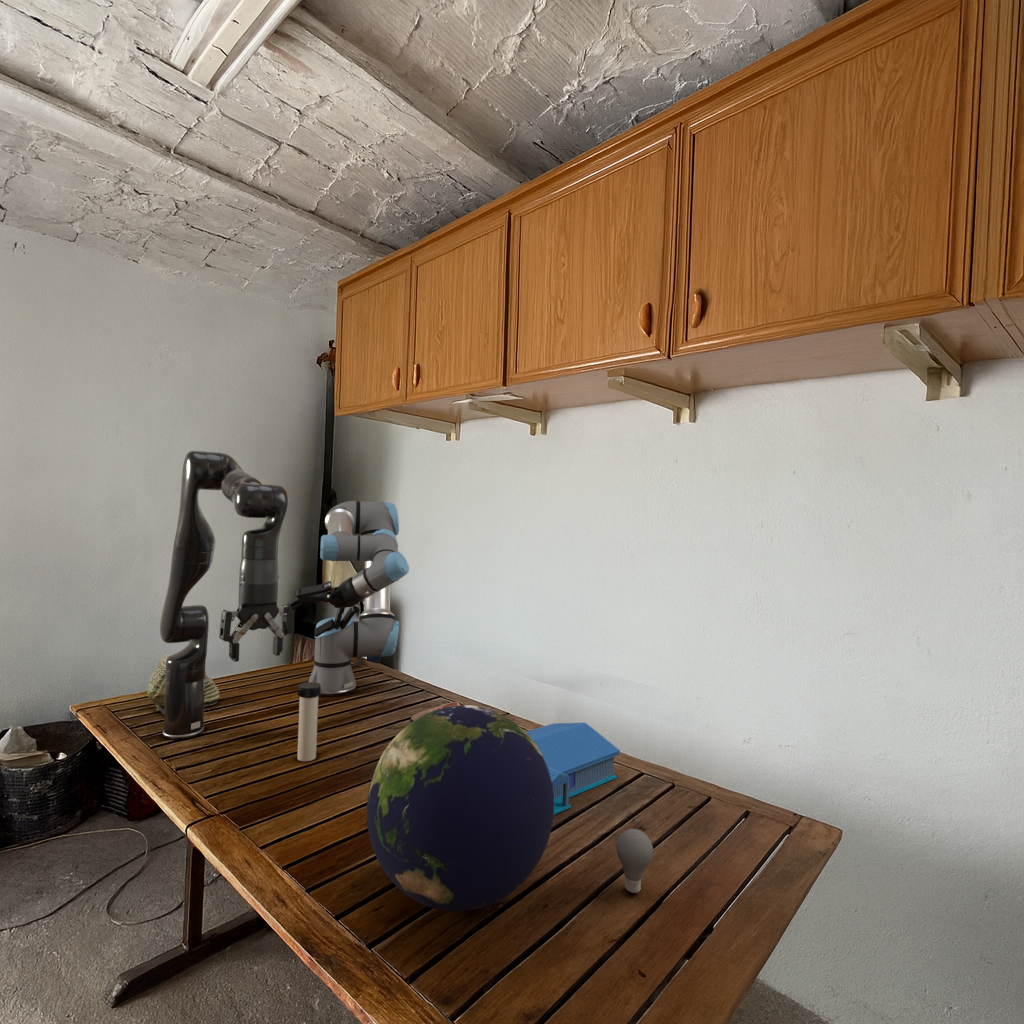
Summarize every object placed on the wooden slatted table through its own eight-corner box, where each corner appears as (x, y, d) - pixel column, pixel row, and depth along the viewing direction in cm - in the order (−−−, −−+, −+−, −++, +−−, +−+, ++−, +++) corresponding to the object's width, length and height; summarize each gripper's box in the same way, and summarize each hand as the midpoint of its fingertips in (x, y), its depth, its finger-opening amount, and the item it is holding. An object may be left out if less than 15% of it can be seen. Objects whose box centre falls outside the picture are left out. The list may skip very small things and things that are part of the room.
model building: (501, 837, 120) (504, 785, 120) (427, 790, 139) (429, 744, 138) (628, 782, 147) (630, 739, 147) (552, 748, 165) (553, 710, 165)
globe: (322, 922, 94) (330, 722, 94) (423, 829, 122) (430, 674, 122) (507, 988, 83) (517, 762, 83) (572, 869, 111) (580, 699, 110)
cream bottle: (295, 761, 151) (298, 689, 150) (298, 754, 155) (301, 684, 155) (314, 761, 151) (317, 689, 151) (317, 753, 156) (320, 684, 155)
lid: (295, 698, 150) (296, 688, 150) (299, 691, 155) (299, 682, 155) (318, 697, 151) (319, 688, 151) (321, 691, 156) (322, 682, 156)
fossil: (144, 707, 182) (145, 655, 182) (212, 696, 194) (213, 647, 194) (151, 716, 175) (153, 662, 175) (221, 703, 188) (223, 653, 188)
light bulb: (610, 879, 108) (613, 822, 108) (644, 879, 109) (647, 822, 109) (619, 902, 102) (622, 840, 102) (655, 901, 103) (658, 840, 103)
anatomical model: (407, 708, 179) (421, 696, 191) (406, 722, 179) (420, 709, 191) (452, 713, 177) (463, 701, 188) (451, 727, 177) (463, 714, 188)
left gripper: (284, 576, 139) (281, 649, 139) (216, 579, 129) (213, 658, 130) (299, 580, 134) (296, 656, 134) (230, 584, 124) (227, 667, 124)
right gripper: (330, 574, 171) (268, 611, 174) (386, 618, 187) (328, 651, 191) (330, 555, 176) (269, 591, 179) (383, 599, 193) (327, 632, 196)
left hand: (256, 657), depth 132 cm, fingers open, 8 cm apart
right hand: (299, 622), depth 185 cm, fingers open, 13 cm apart
